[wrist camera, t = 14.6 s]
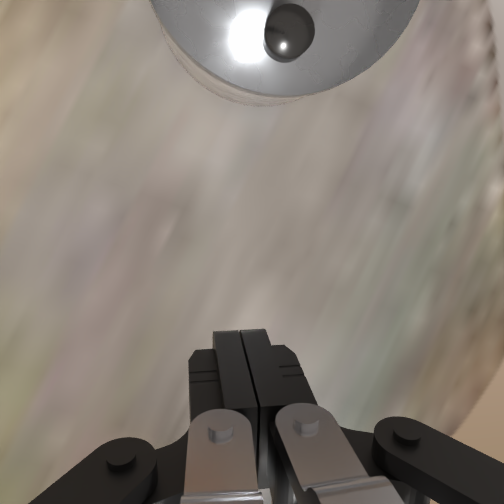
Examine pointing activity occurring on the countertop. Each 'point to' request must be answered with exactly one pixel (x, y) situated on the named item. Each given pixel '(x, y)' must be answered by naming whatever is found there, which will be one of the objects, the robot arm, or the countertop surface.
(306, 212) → the countertop surface
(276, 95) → the cooker lid
